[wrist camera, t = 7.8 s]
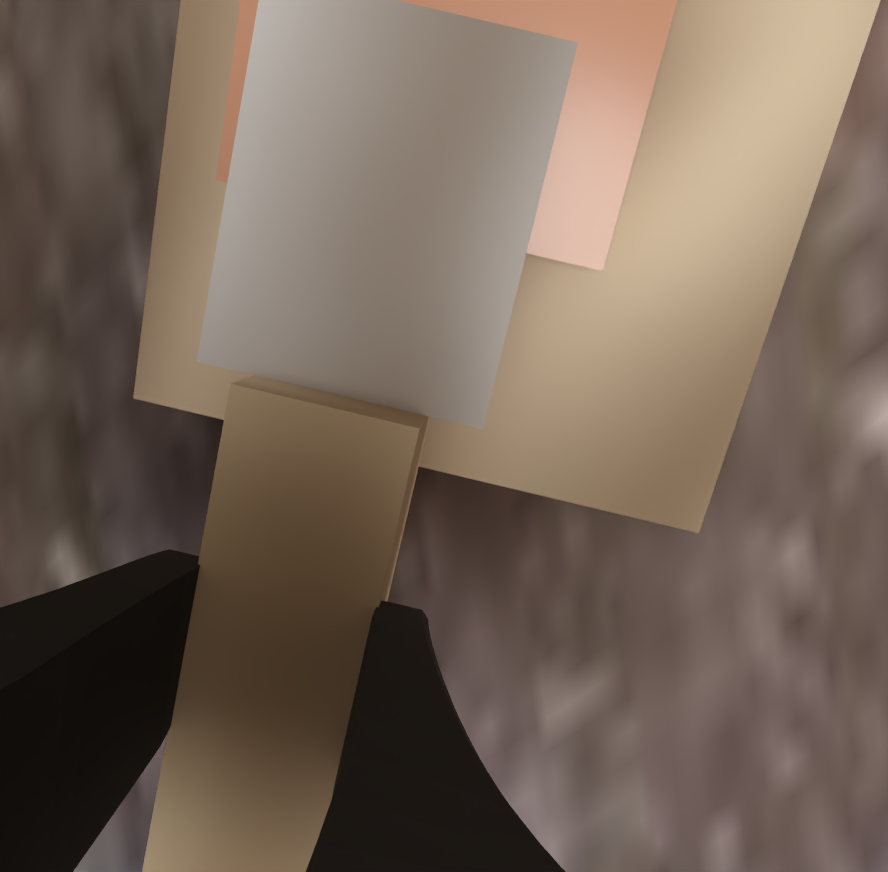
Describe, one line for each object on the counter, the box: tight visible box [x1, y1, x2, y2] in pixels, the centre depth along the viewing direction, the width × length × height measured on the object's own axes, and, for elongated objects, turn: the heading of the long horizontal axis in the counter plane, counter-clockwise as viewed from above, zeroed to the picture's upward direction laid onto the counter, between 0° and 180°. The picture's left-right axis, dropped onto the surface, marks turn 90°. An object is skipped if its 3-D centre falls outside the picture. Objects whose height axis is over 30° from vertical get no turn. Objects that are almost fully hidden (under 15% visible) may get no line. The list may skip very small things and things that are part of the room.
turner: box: [142, 0, 578, 872], centre depth 12 cm, size 4×14×3 cm, turn 167°
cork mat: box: [133, 0, 880, 533], centre depth 15 cm, size 12×14×1 cm
